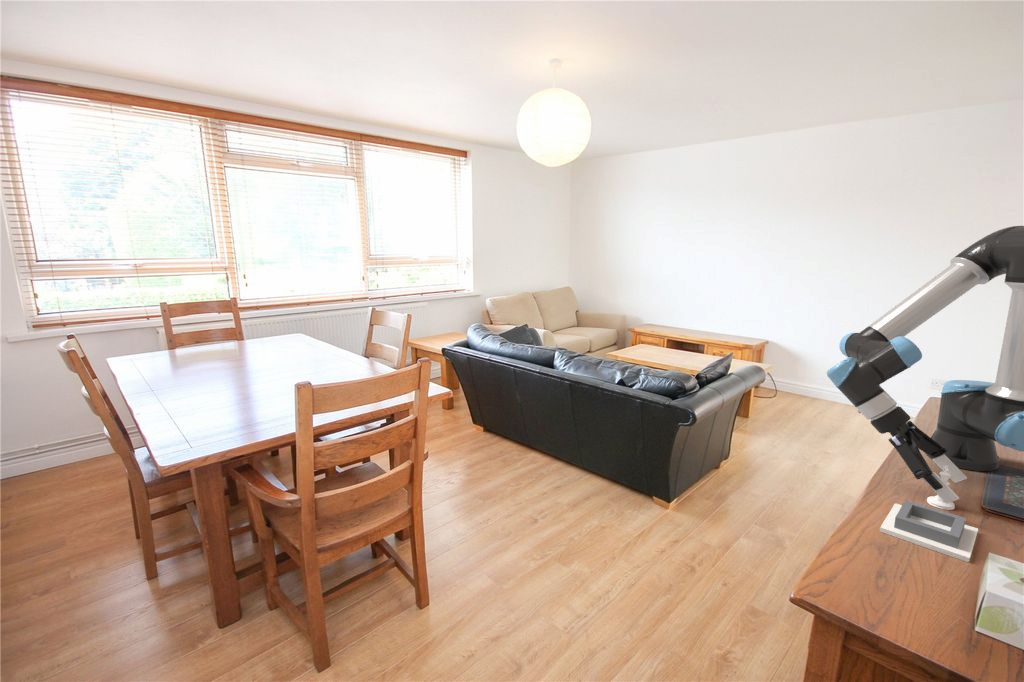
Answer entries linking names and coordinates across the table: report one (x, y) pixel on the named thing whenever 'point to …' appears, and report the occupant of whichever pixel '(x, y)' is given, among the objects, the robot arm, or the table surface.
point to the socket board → (931, 529)
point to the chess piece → (936, 500)
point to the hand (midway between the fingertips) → (957, 490)
